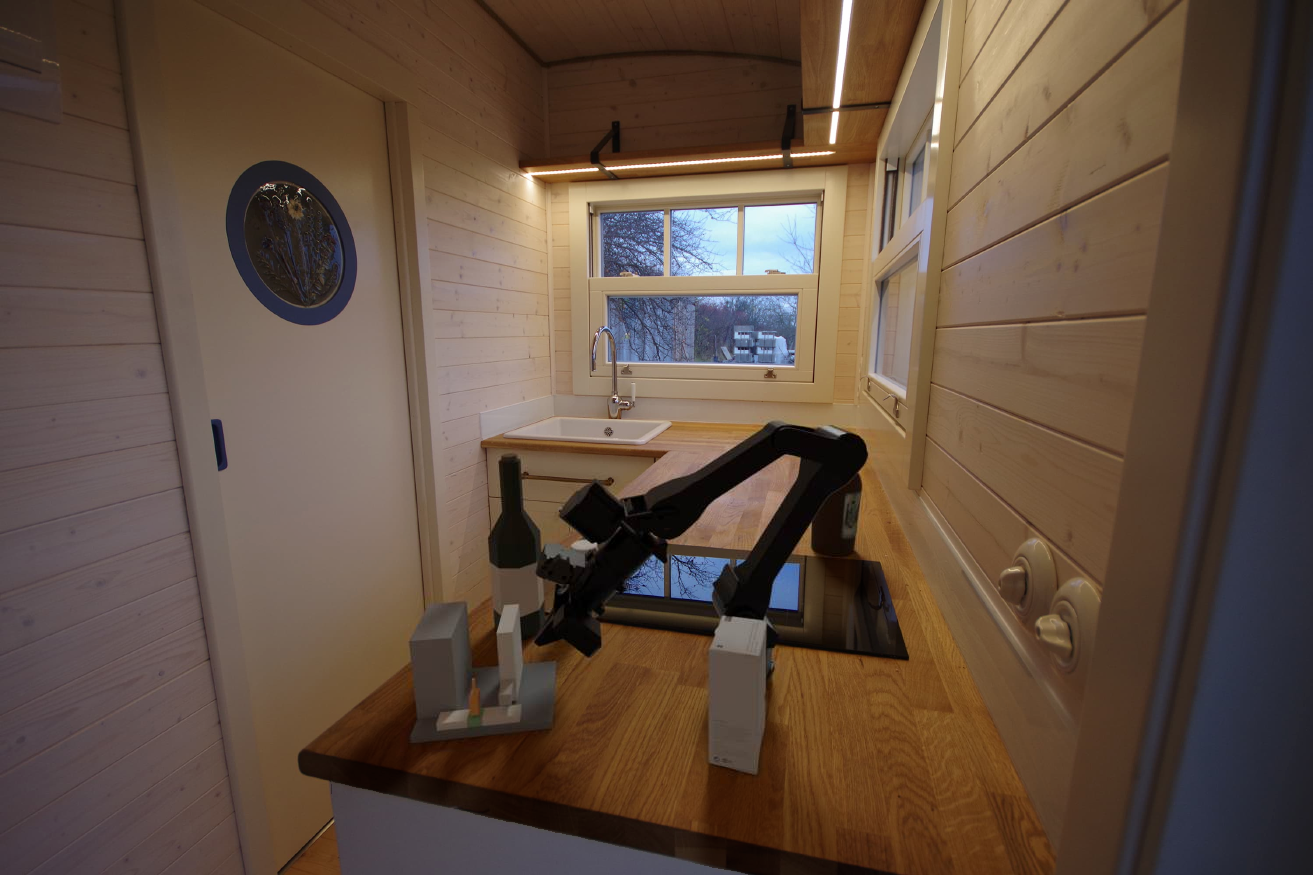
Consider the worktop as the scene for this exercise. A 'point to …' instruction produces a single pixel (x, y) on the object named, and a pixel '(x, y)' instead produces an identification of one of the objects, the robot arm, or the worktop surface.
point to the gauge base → (469, 683)
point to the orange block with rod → (474, 699)
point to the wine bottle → (515, 554)
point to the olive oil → (838, 521)
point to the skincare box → (737, 693)
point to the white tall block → (509, 654)
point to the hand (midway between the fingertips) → (536, 643)
